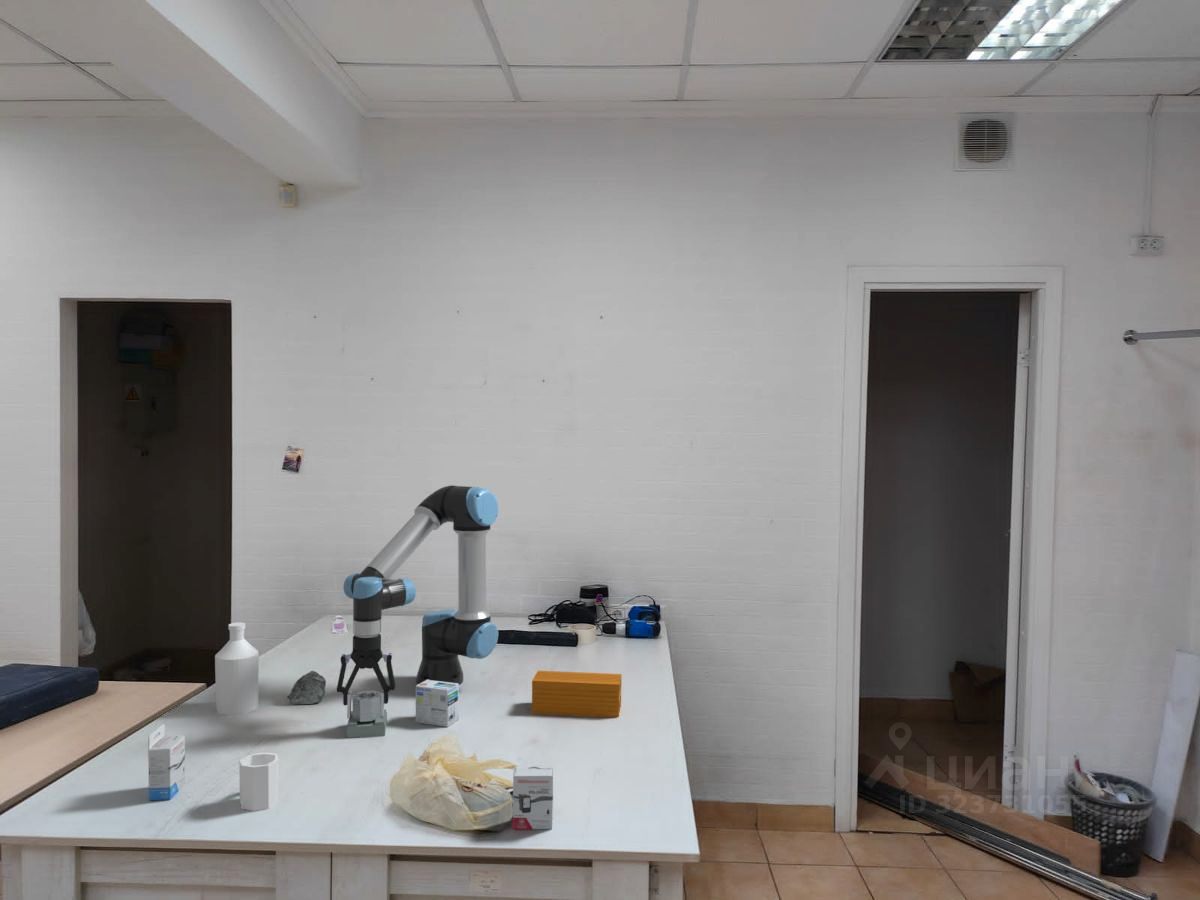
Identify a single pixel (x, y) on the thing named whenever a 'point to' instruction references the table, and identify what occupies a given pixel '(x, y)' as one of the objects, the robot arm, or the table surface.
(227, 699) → the bottle
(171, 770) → the ink box
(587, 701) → the brick
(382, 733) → the pillow block
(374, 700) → the hub
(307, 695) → the stone
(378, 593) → the robot arm
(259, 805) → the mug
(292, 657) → the table surface
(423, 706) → the light bulb box
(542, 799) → the ink box
